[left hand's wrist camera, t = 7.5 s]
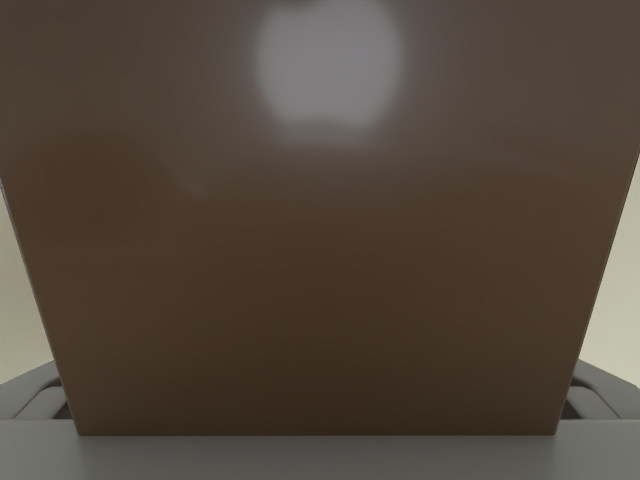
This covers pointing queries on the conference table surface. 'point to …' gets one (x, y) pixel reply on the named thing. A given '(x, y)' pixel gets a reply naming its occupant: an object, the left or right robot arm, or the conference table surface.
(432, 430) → the bar
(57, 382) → the left robot arm
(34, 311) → the conference table surface
